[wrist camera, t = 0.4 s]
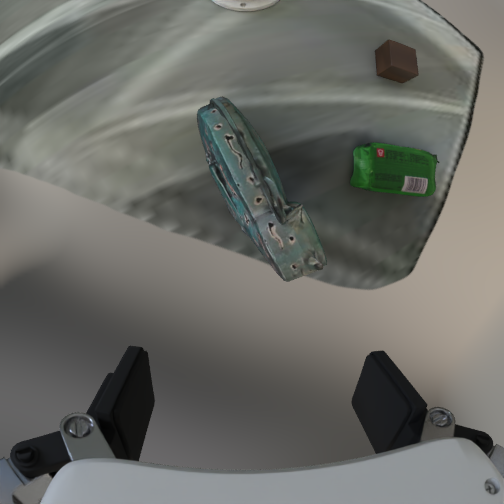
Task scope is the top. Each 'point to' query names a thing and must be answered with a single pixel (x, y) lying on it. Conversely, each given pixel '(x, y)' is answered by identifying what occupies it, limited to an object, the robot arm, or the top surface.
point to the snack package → (394, 169)
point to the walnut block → (396, 61)
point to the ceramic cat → (257, 192)
